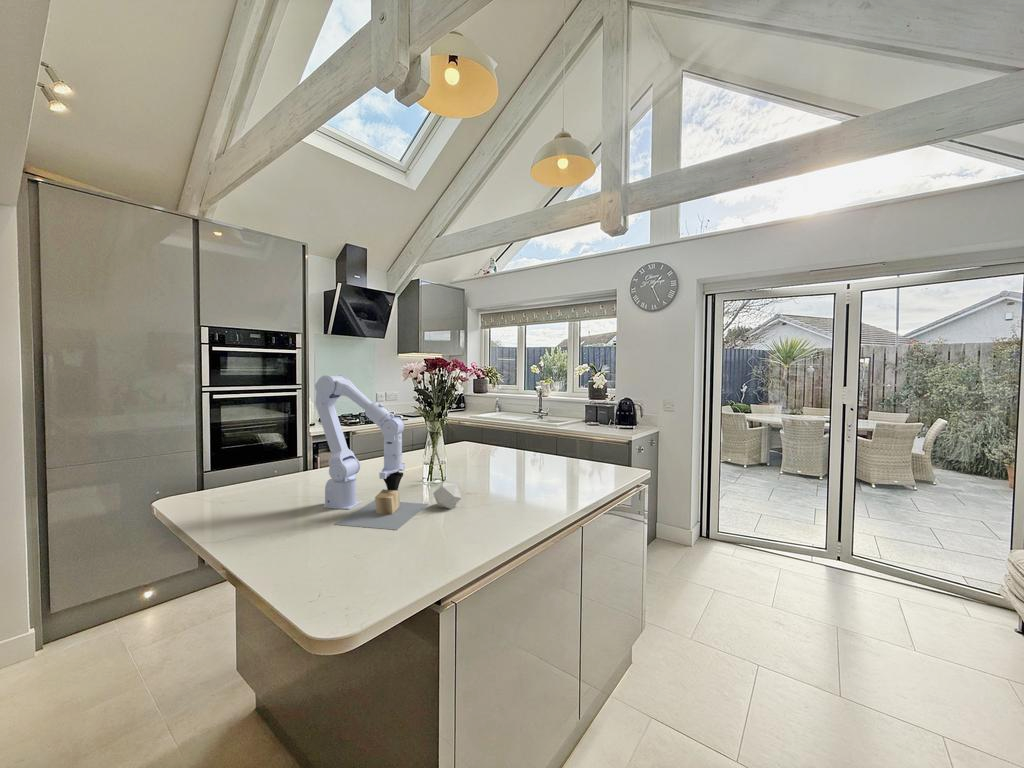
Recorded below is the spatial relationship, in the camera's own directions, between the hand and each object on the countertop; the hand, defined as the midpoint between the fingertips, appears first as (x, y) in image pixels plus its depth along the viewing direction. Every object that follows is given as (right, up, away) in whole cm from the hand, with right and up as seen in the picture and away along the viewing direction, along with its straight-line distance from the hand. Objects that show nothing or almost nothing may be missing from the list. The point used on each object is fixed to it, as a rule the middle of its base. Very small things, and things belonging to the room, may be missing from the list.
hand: (392, 495), depth 140 cm
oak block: (0, -1, -1) cm, 1 cm away
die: (+18, -5, +2) cm, 18 cm away
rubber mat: (-1, -5, -5) cm, 7 cm away
